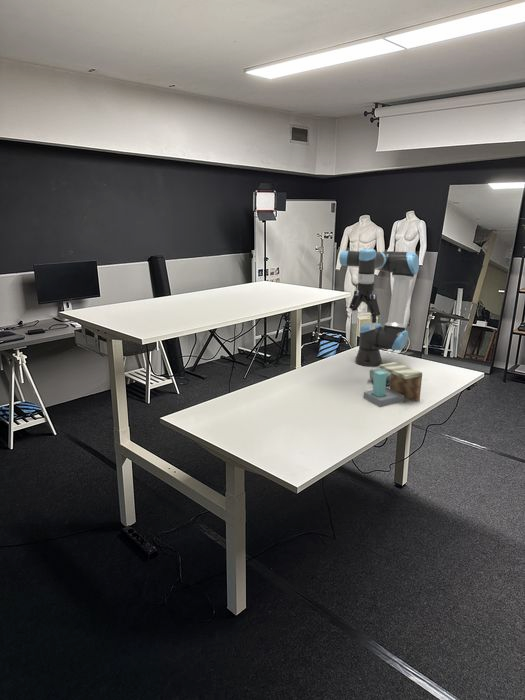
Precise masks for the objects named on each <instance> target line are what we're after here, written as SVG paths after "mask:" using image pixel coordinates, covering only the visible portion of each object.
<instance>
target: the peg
mask: <svg viewBox="0 0 525 700" xmlns="http://www.w3.org/2000/svg"><path fill="white" fill-rule="evenodd" d="M386 375H387V373H385V372H383V371H377V372H374V380H373V381H372V390H373V395H374V396H376V397H378V398H380V397H384V396H385V388H386V387H387V385H386Z"/></svg>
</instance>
